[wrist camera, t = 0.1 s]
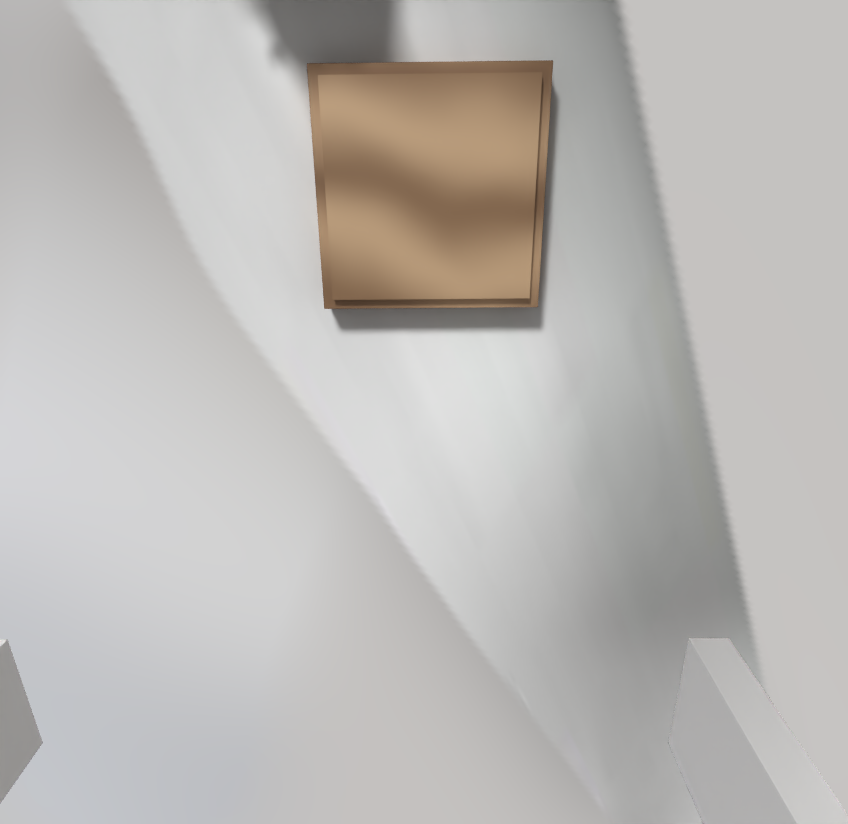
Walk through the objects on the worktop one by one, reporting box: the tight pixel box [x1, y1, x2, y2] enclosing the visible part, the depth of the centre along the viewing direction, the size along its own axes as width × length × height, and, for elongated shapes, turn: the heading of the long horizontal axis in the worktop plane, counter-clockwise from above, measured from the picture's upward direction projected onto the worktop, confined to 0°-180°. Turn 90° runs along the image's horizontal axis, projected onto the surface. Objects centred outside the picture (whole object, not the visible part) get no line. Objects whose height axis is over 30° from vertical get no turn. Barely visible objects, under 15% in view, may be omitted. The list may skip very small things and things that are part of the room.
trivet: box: [307, 61, 553, 309], centre depth 33 cm, size 13×13×2 cm
